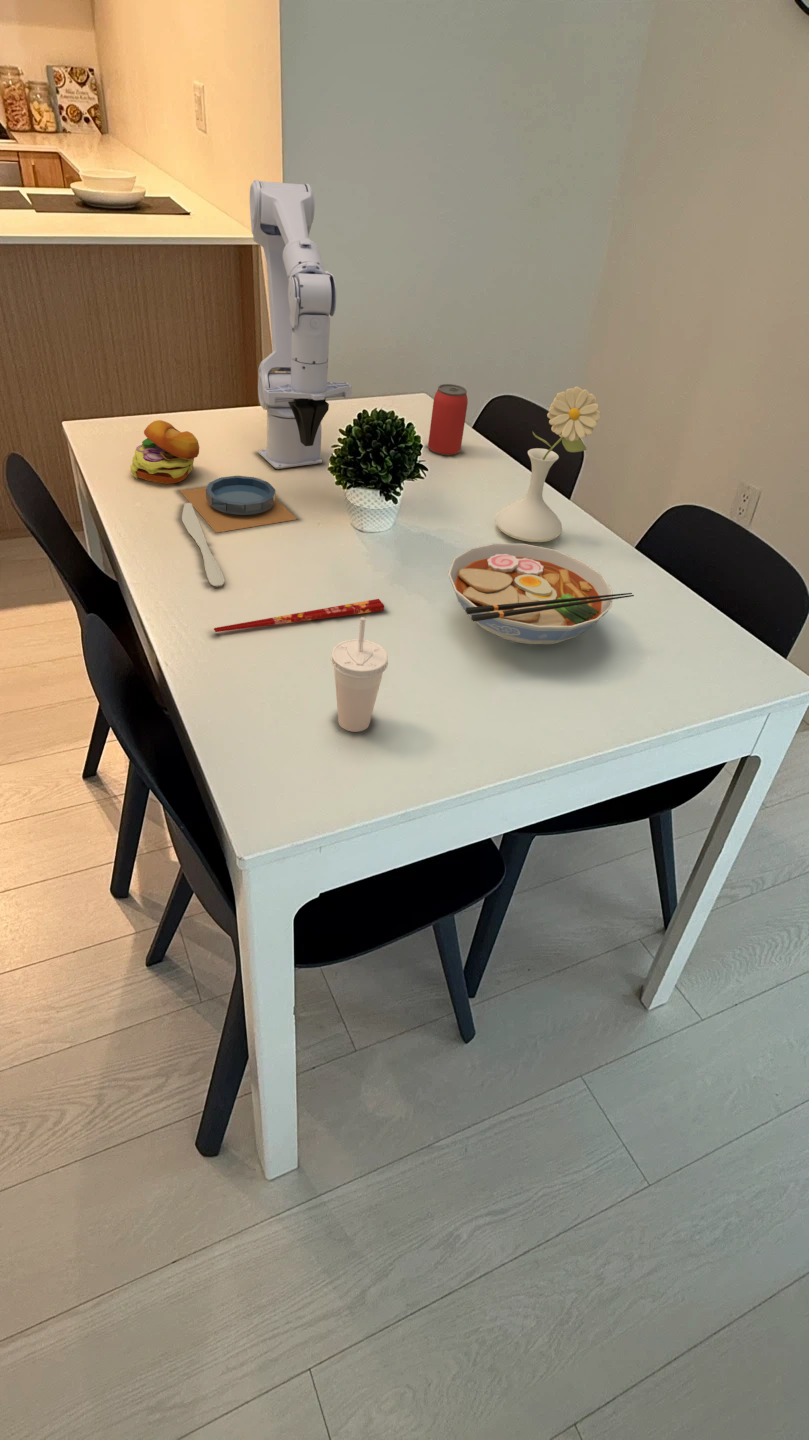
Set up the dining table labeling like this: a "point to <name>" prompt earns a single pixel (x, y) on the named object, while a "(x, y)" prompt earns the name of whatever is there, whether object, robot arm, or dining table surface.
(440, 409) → the beer can
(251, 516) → the placemat
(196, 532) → the butter knife
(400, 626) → the dining table surface
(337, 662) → the smoothie
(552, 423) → the flower in vase
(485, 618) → the ramen bowl
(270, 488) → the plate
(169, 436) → the cheeseburger
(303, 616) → the chopstick
